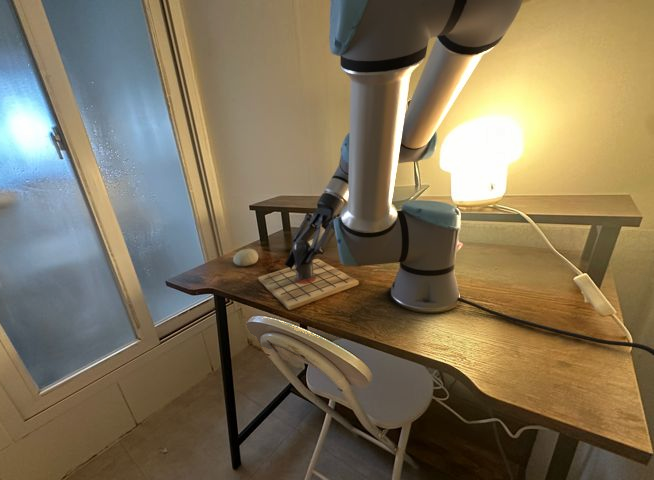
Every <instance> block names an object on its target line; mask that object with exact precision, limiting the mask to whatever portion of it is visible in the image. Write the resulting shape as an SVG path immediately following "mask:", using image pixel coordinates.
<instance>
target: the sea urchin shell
mask: <svg viewBox="0 0 654 480" xmlns="http://www.w3.org/2000/svg"><path fill="white" fill-rule="evenodd" d="M258 260H259V254H258V252H257V251H256V250H255V249H254V248H243V249H241V250H239V251H237V252H236V253H235V254H234V255H233V258H232V262H233V263H234V265H236V266H238V267H245V268H246V267H249V266H252V265H254V264H256V263H257V262H258Z"/></svg>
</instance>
